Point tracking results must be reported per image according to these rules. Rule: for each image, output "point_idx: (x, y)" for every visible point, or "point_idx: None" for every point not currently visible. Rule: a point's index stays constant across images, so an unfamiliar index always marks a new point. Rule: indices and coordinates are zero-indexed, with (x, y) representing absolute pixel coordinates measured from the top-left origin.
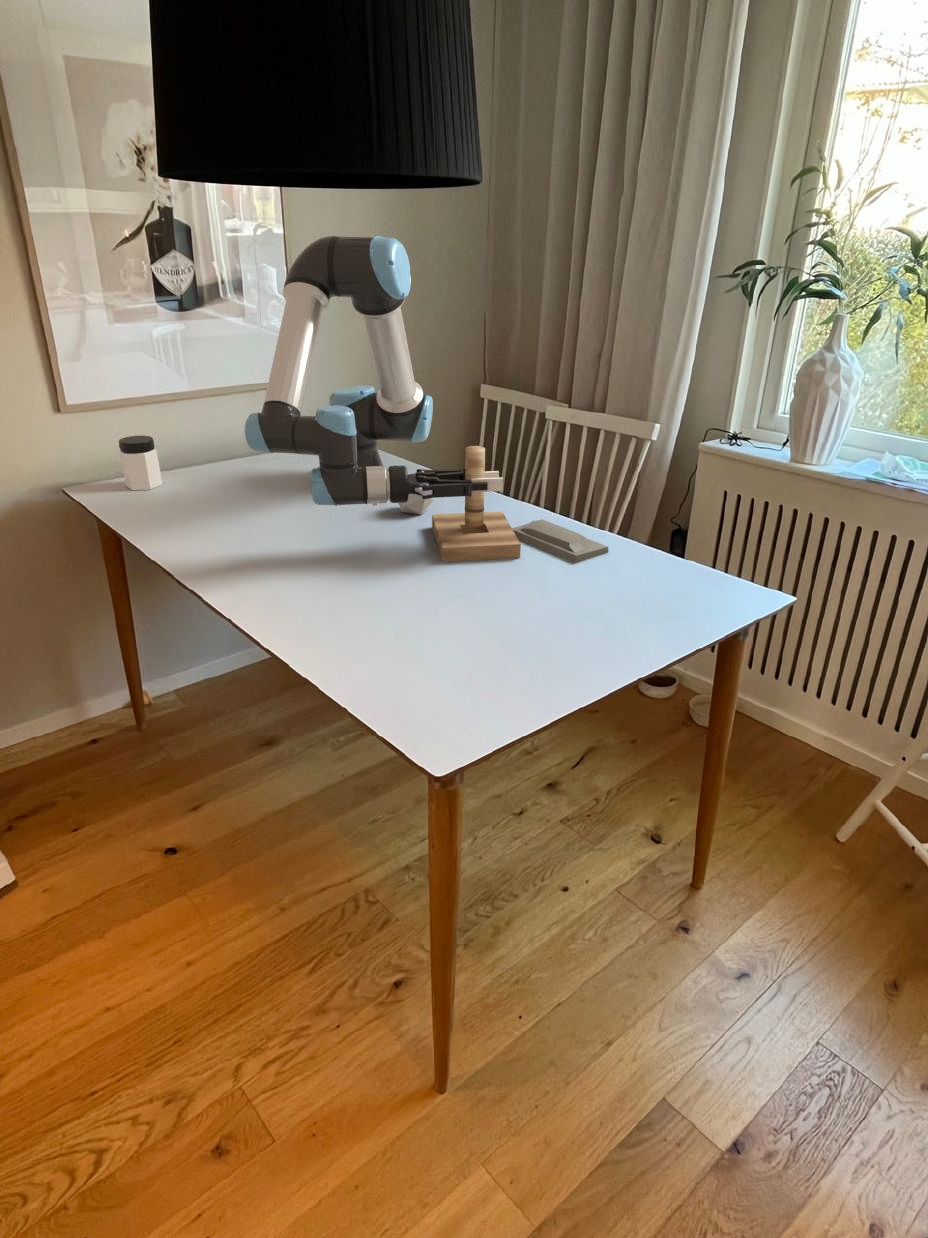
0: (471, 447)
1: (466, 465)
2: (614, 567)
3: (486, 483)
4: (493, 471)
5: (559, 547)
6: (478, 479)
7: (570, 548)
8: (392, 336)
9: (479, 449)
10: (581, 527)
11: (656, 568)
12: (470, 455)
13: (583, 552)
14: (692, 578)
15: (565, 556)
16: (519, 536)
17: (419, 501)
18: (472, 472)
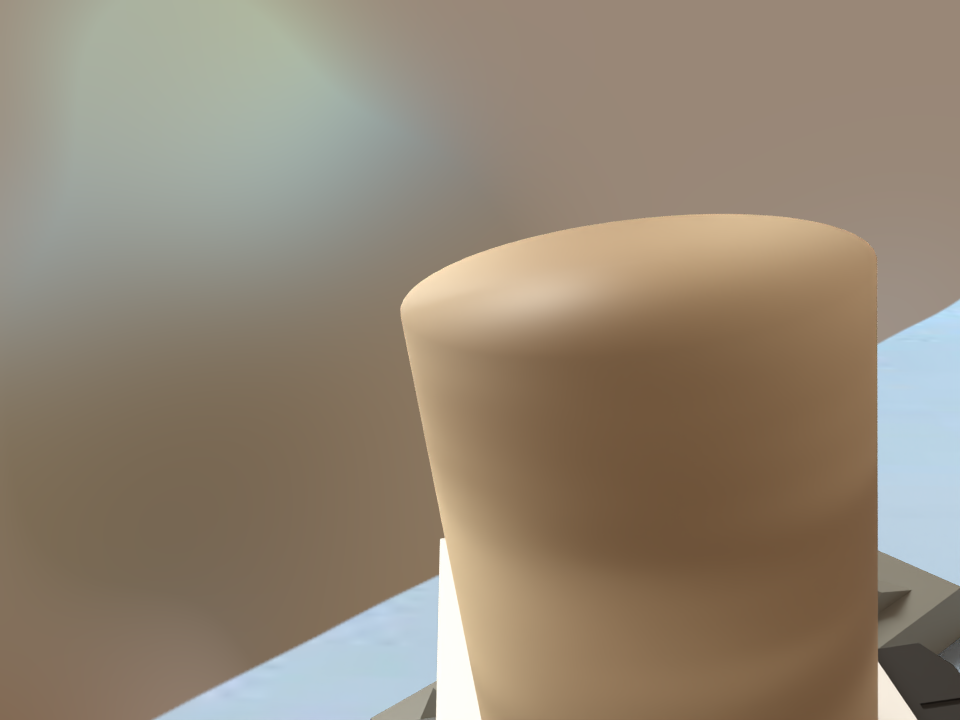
0: (535, 310)
1: (787, 714)
2: (949, 509)
3: (931, 655)
4: (448, 575)
5: None
6: (913, 714)
7: (886, 596)
8: None
9: (698, 240)
10: (430, 589)
11: (896, 425)
12: (871, 402)
13: (893, 562)
14: (950, 373)
15: (924, 646)
16: None
17: None
18: (877, 710)
